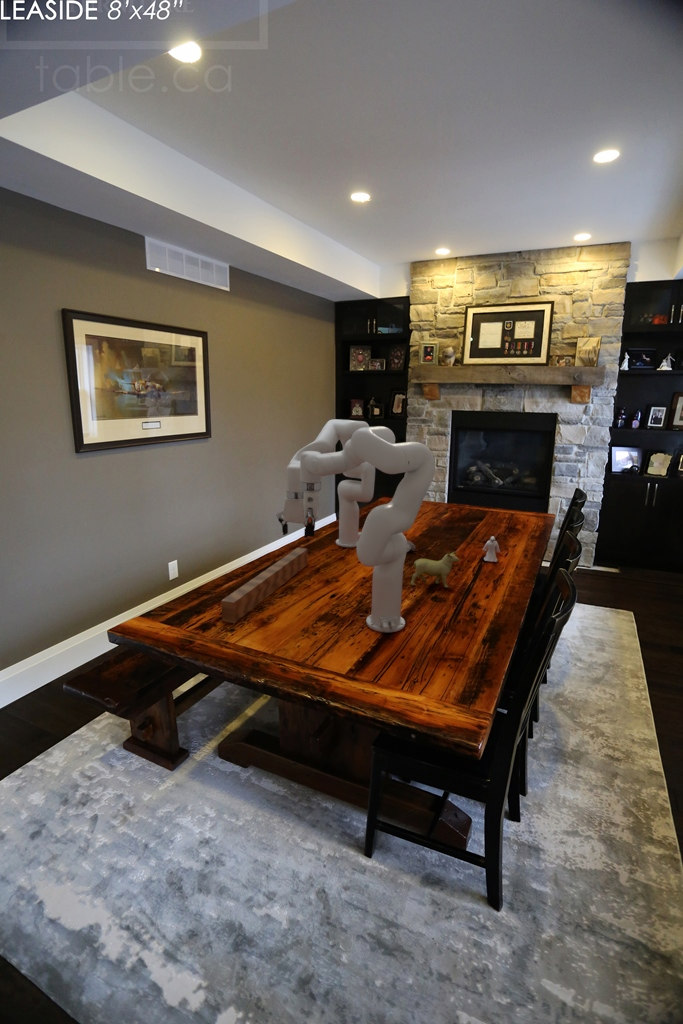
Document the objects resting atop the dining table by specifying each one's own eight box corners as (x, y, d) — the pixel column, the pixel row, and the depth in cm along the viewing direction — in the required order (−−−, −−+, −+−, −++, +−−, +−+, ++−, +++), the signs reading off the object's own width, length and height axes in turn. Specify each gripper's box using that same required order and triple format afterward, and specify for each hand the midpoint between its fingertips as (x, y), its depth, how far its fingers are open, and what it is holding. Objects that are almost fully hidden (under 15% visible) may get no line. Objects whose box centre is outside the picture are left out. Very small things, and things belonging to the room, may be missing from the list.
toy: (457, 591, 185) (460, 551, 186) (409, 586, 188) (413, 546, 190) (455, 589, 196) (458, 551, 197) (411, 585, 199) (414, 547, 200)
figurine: (481, 562, 222) (483, 536, 219) (482, 556, 230) (484, 531, 227) (499, 564, 220) (501, 538, 217) (499, 558, 228) (501, 533, 225)
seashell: (403, 559, 235) (392, 546, 235) (408, 552, 239) (398, 539, 238) (414, 554, 229) (403, 541, 228) (419, 547, 233) (409, 534, 232)
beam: (234, 623, 161) (233, 602, 159) (222, 621, 163) (221, 600, 161) (307, 564, 215) (307, 548, 214) (297, 563, 217) (297, 547, 215)
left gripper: (319, 495, 203) (318, 535, 207) (280, 491, 208) (281, 530, 212) (312, 498, 196) (311, 540, 200) (272, 494, 201) (273, 535, 206)
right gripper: (321, 491, 169) (320, 539, 174) (321, 481, 186) (320, 525, 190) (299, 491, 169) (298, 539, 173) (301, 481, 186) (300, 525, 190)
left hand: (296, 535), depth 206 cm, fingers open, 9 cm apart
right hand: (310, 532), depth 182 cm, fingers open, 9 cm apart
